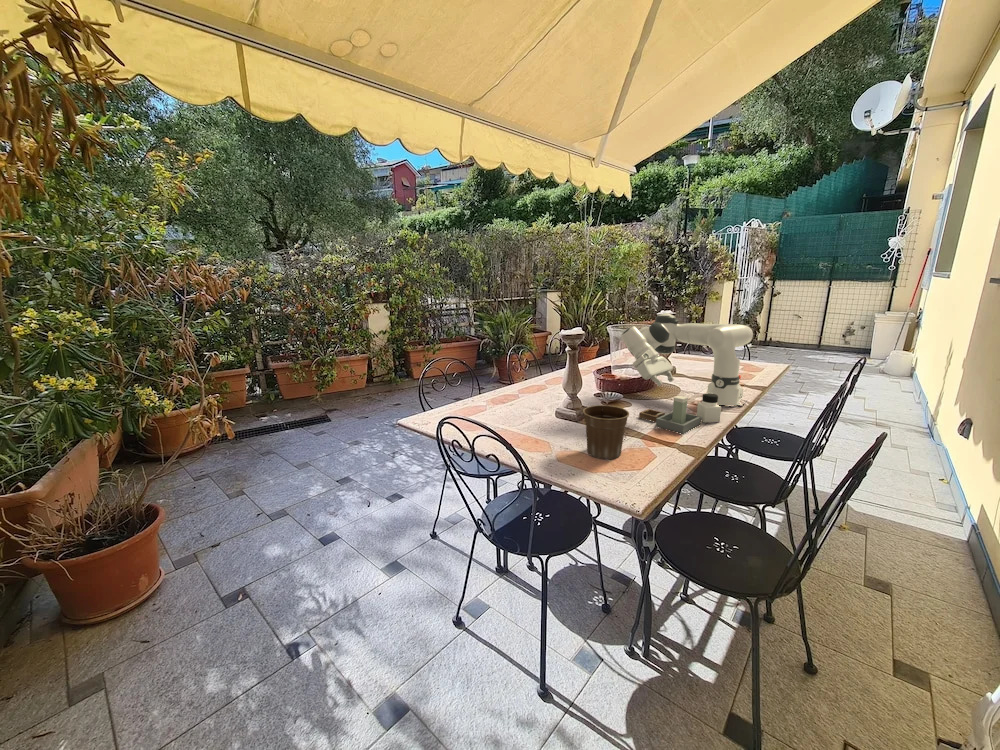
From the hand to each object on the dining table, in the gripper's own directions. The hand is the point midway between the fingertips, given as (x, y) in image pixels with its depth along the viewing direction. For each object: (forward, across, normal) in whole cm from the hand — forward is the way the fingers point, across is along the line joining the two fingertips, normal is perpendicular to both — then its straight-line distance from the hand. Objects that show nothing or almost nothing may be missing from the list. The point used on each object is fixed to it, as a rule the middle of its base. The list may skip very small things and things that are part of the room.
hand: (666, 382), depth 178 cm
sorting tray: (+17, 0, -8) cm, 19 cm away
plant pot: (+14, +46, -12) cm, 49 cm away
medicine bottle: (+21, -17, -5) cm, 28 cm away
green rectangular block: (+17, 0, -8) cm, 18 cm away
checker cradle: (+8, -1, -17) cm, 19 cm away
